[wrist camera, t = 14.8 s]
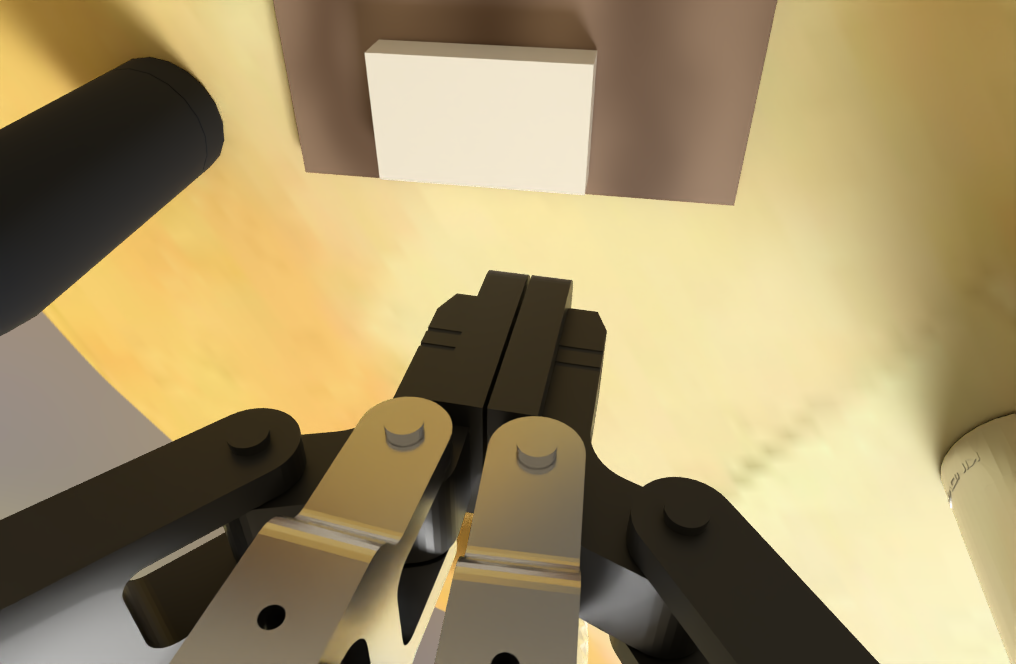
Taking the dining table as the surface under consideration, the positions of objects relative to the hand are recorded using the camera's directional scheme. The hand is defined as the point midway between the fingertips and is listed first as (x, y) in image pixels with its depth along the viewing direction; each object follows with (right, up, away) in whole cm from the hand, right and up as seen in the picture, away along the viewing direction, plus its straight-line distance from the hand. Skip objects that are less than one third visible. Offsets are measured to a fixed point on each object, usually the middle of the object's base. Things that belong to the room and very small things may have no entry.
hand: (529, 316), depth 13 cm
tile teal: (+3, +9, +20) cm, 22 cm away
